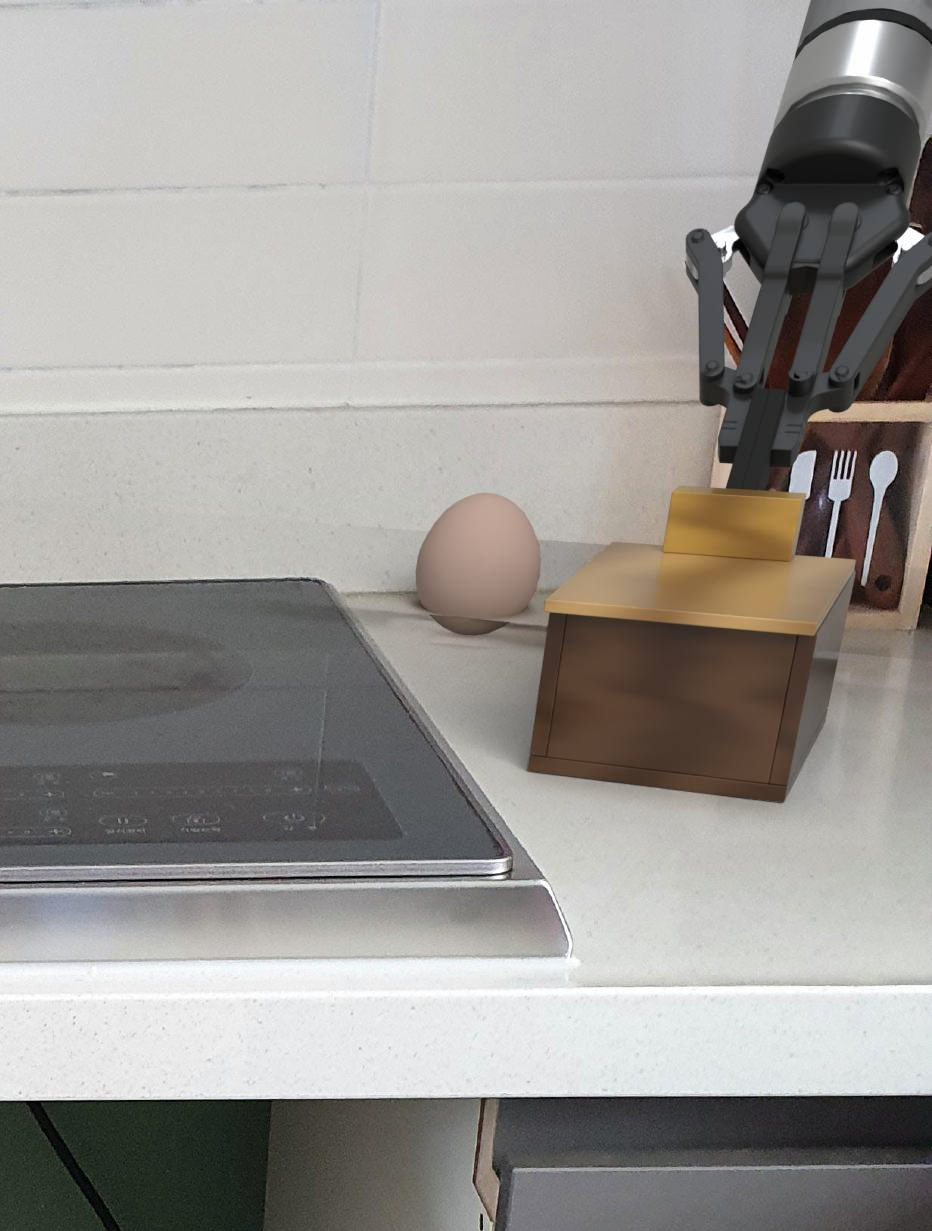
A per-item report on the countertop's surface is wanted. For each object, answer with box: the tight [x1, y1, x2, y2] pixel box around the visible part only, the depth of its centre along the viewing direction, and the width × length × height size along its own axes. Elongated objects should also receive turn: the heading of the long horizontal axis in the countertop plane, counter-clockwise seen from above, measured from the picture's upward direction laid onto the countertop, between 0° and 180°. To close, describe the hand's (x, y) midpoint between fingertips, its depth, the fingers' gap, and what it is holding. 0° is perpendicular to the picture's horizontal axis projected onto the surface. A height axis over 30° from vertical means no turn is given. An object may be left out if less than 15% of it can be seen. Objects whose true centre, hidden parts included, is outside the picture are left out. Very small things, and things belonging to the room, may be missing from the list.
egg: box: [415, 492, 542, 637], centre depth 126 cm, size 7×7×8 cm
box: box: [526, 569, 857, 803], centre depth 104 cm, size 12×16×8 cm
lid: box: [543, 485, 857, 636], centre depth 100 cm, size 12×16×4 cm
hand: (739, 511), depth 107 cm, fingers closed
